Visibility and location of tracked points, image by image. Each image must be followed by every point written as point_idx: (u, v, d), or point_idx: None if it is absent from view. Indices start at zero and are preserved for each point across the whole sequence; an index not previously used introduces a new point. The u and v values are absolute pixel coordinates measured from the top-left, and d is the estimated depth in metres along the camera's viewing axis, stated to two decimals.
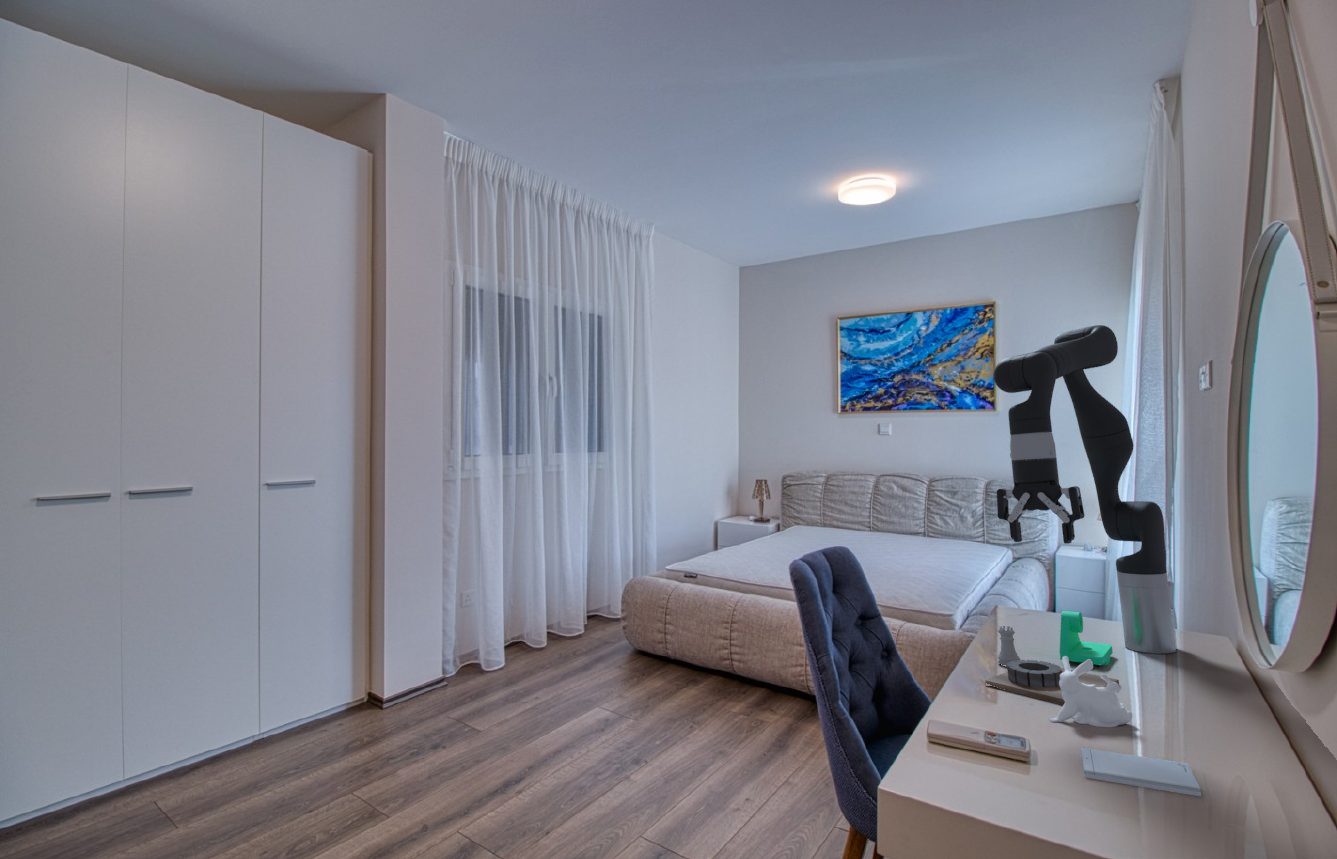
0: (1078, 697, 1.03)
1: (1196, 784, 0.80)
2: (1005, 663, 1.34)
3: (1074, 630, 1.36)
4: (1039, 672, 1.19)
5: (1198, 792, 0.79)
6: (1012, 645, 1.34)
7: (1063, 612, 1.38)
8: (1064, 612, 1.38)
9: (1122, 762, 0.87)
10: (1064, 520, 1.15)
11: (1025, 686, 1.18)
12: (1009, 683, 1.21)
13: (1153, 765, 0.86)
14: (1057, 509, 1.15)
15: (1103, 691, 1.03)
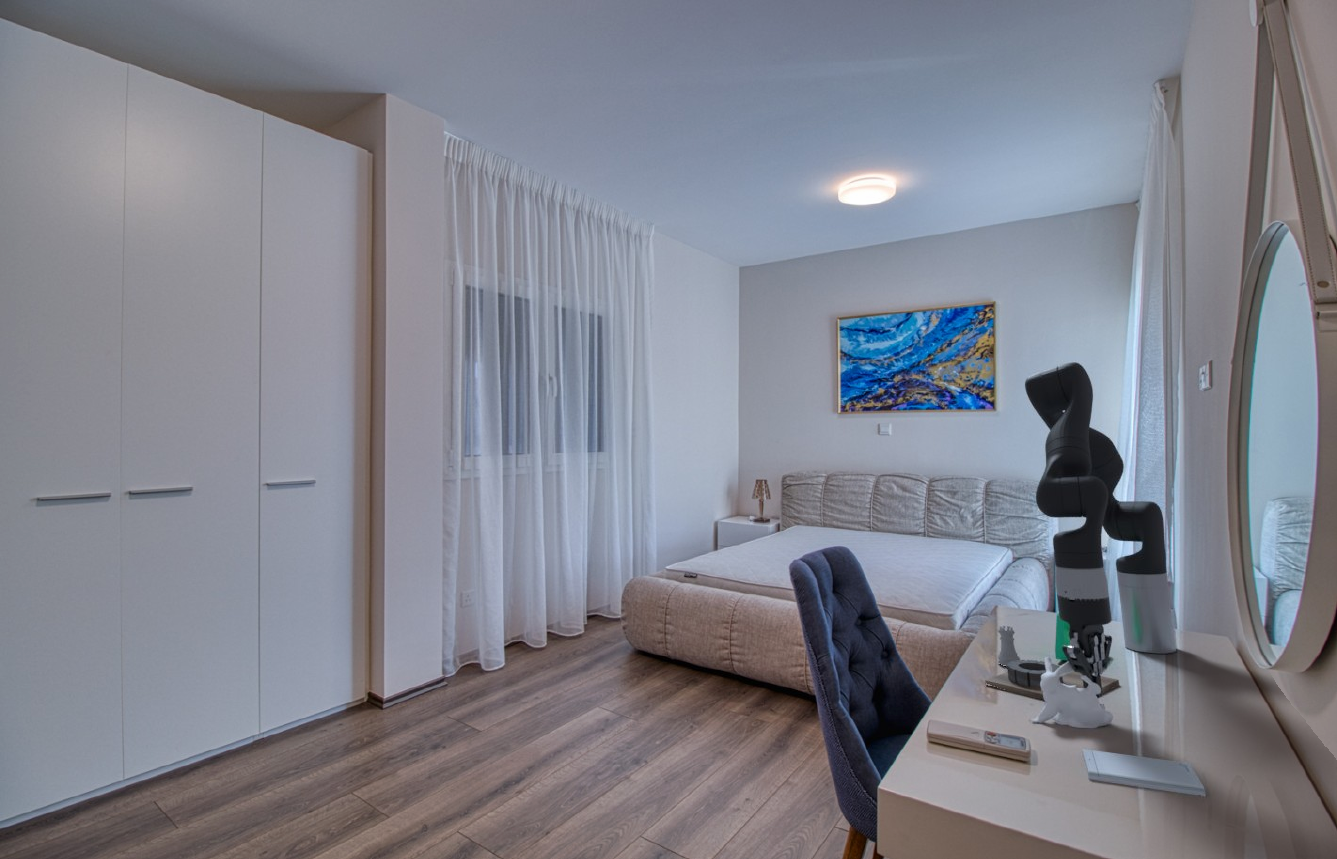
0: (1059, 698, 1.03)
1: (1200, 784, 0.80)
2: (1005, 663, 1.34)
3: None
4: (1039, 672, 1.19)
5: (1203, 792, 0.79)
6: (1012, 645, 1.34)
7: None
8: None
9: (1124, 763, 0.86)
10: (1100, 671, 1.05)
11: (1025, 686, 1.18)
12: (1009, 683, 1.21)
13: (1156, 765, 0.85)
14: (1104, 657, 1.05)
15: (1084, 692, 1.02)
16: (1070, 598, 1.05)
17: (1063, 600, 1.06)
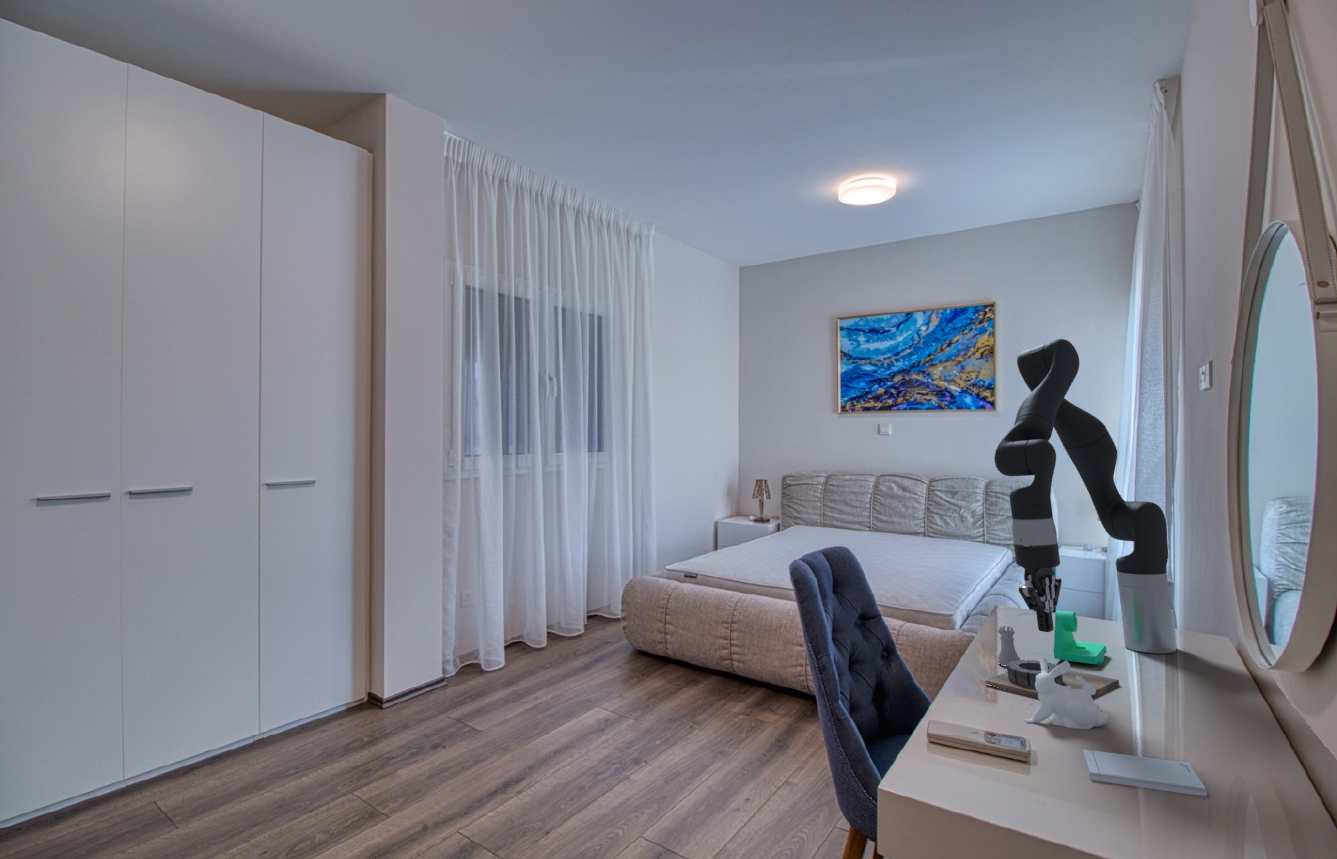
0: (1053, 699, 1.03)
1: (1201, 784, 0.80)
2: (1005, 663, 1.34)
3: (1068, 629, 1.37)
4: (1039, 672, 1.19)
5: (1204, 792, 0.79)
6: (1012, 645, 1.34)
7: (1057, 611, 1.39)
8: (1058, 611, 1.39)
9: (1125, 763, 0.86)
10: (1051, 608, 1.21)
11: (1025, 686, 1.18)
12: (1009, 683, 1.21)
13: (1156, 765, 0.85)
14: (1054, 596, 1.21)
15: (1079, 693, 1.02)
16: (1025, 545, 1.21)
17: (1019, 548, 1.22)
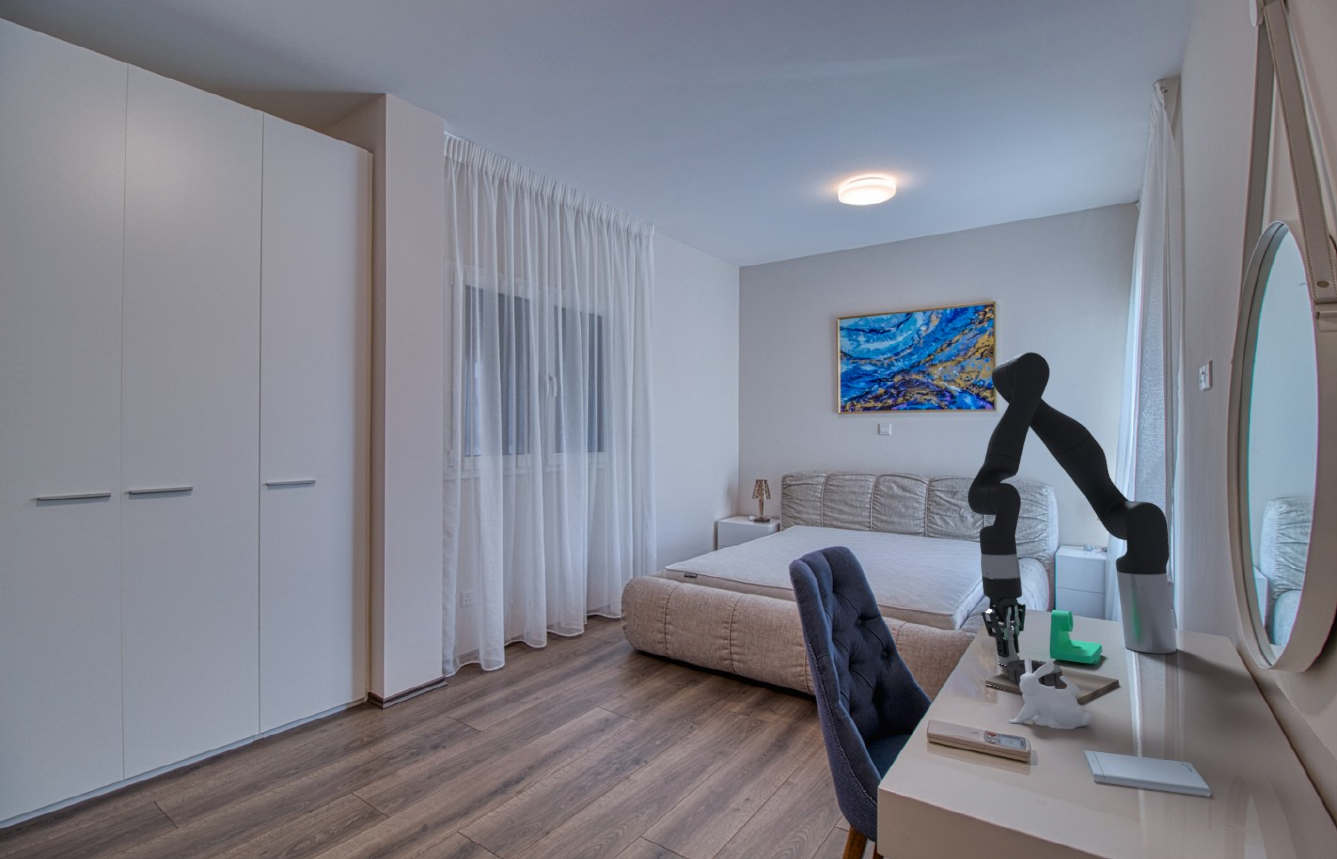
0: (1037, 699, 1.03)
1: (1205, 784, 0.80)
2: (1005, 663, 1.34)
3: (1064, 629, 1.38)
4: None
5: (1208, 793, 0.79)
6: (1012, 645, 1.34)
7: (1053, 611, 1.40)
8: (1054, 611, 1.40)
9: (1128, 764, 0.86)
10: (1018, 633, 1.36)
11: None
12: (1009, 683, 1.21)
13: (1158, 765, 0.85)
14: (1019, 622, 1.36)
15: (1062, 693, 1.03)
16: (990, 578, 1.35)
17: (985, 579, 1.36)
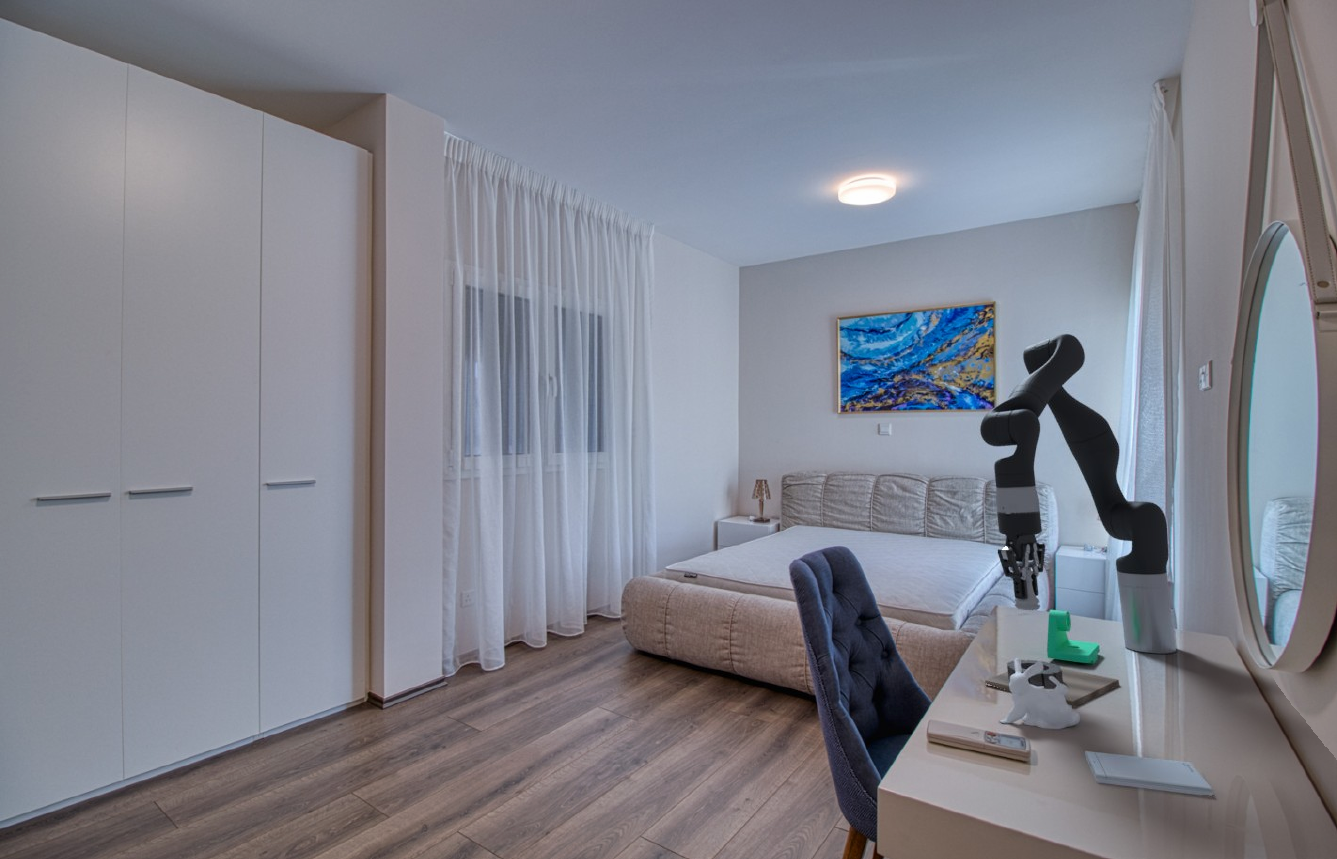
0: (1027, 699, 1.04)
1: (1207, 784, 0.80)
2: (1023, 606, 1.22)
3: (1061, 629, 1.38)
4: None
5: (1210, 793, 0.79)
6: (1030, 586, 1.23)
7: (1051, 611, 1.40)
8: (1052, 610, 1.40)
9: (1129, 765, 0.86)
10: (1037, 574, 1.24)
11: None
12: None
13: (1160, 766, 0.85)
14: (1038, 562, 1.24)
15: (1052, 693, 1.03)
16: (1007, 513, 1.23)
17: (1001, 515, 1.24)
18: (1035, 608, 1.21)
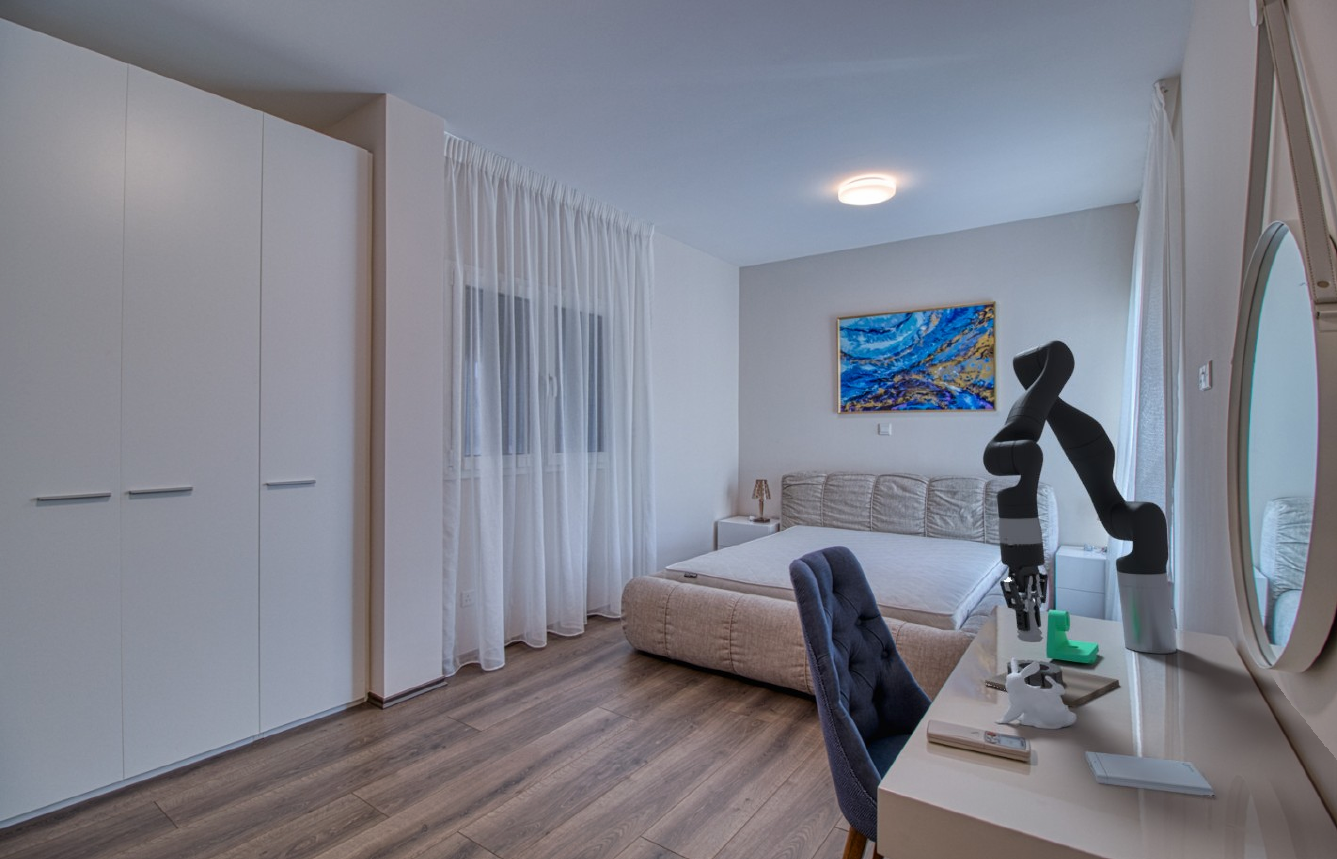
0: (1023, 699, 1.04)
1: (1207, 784, 0.80)
2: (1025, 637, 1.22)
3: (1061, 629, 1.38)
4: (1039, 672, 1.19)
5: (1211, 793, 0.79)
6: (1033, 618, 1.22)
7: (1050, 611, 1.40)
8: (1051, 610, 1.40)
9: (1130, 765, 0.86)
10: (1039, 605, 1.23)
11: None
12: None
13: (1160, 766, 0.85)
14: (1041, 593, 1.23)
15: (1048, 693, 1.03)
16: (1009, 544, 1.23)
17: (1004, 546, 1.24)
18: (1038, 640, 1.21)
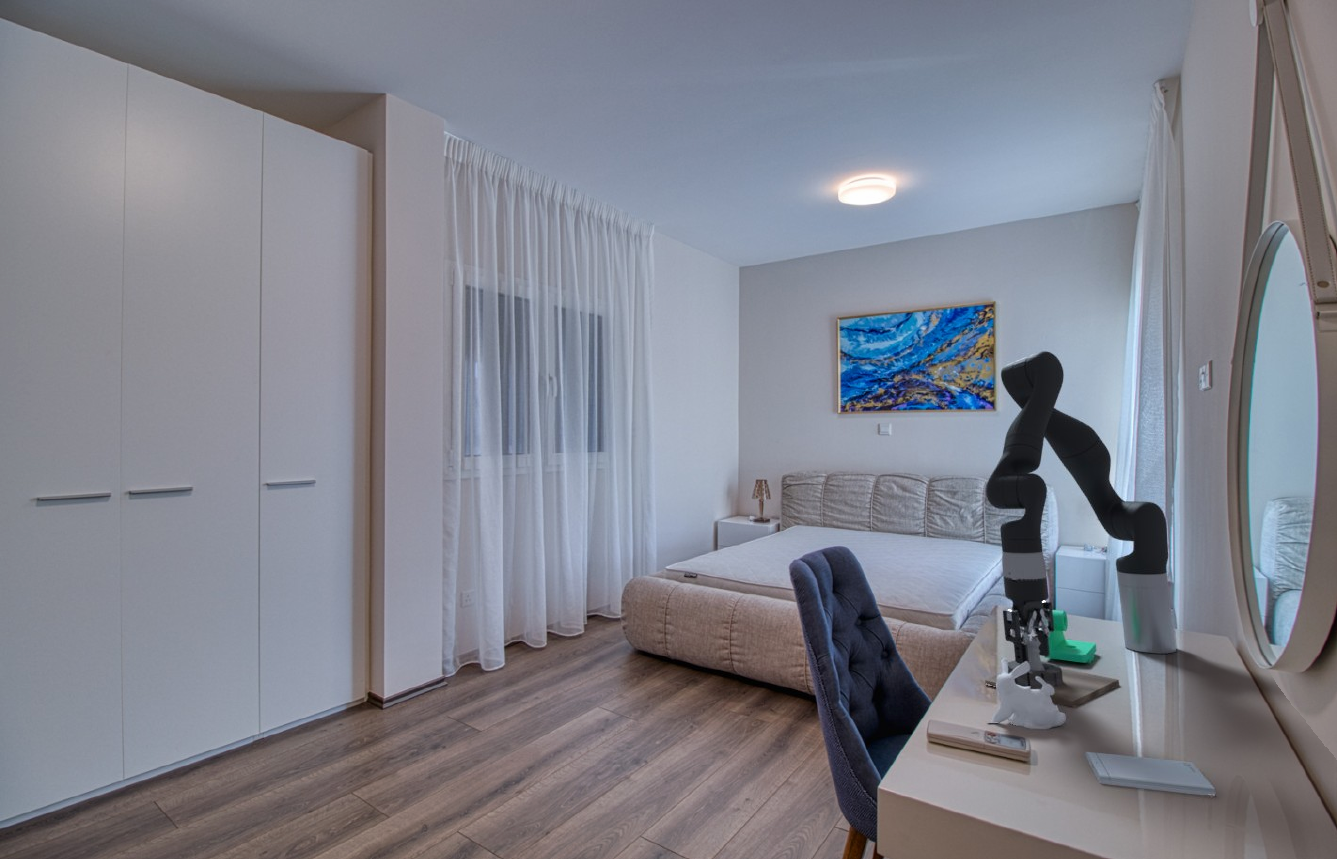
0: (1013, 699, 1.04)
1: (1210, 784, 0.80)
2: None
3: (1058, 628, 1.38)
4: (1039, 672, 1.19)
5: (1213, 793, 0.79)
6: (1038, 657, 1.21)
7: None
8: None
9: (1131, 765, 0.86)
10: (1048, 634, 1.24)
11: (1025, 686, 1.18)
12: None
13: (1161, 766, 0.85)
14: (1047, 624, 1.23)
15: (1038, 693, 1.03)
16: (1013, 578, 1.22)
17: (1007, 580, 1.23)
18: None
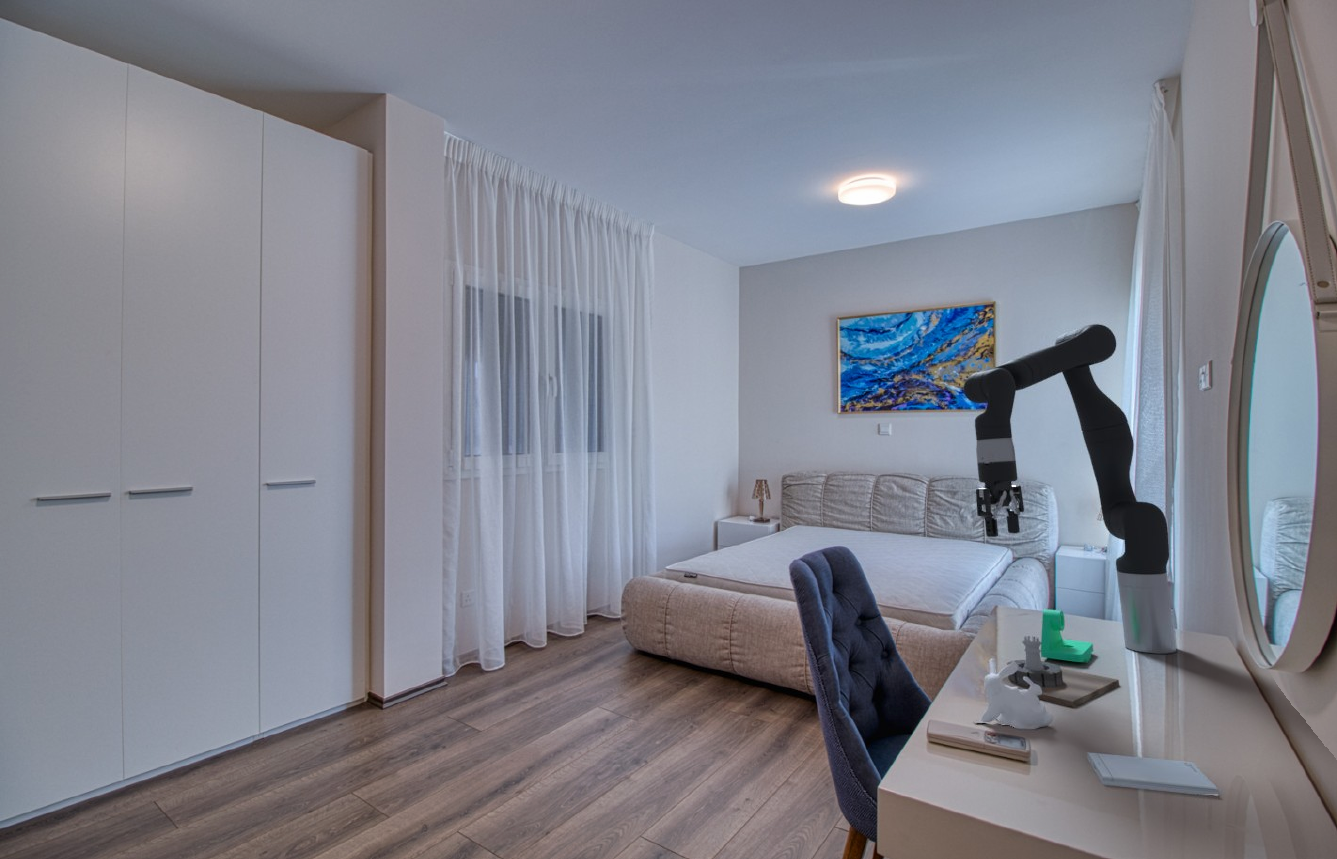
0: (1001, 699, 1.04)
1: (1212, 784, 0.80)
2: None
3: (1055, 628, 1.39)
4: (1039, 672, 1.19)
5: (1216, 793, 0.79)
6: (1038, 657, 1.21)
7: (1045, 610, 1.41)
8: (1046, 610, 1.41)
9: (1133, 766, 0.85)
10: (1018, 513, 1.37)
11: (1025, 686, 1.18)
12: (1009, 683, 1.21)
13: (1163, 766, 0.85)
14: (1017, 504, 1.36)
15: (1025, 693, 1.03)
16: (985, 462, 1.35)
17: (981, 465, 1.36)
18: None
